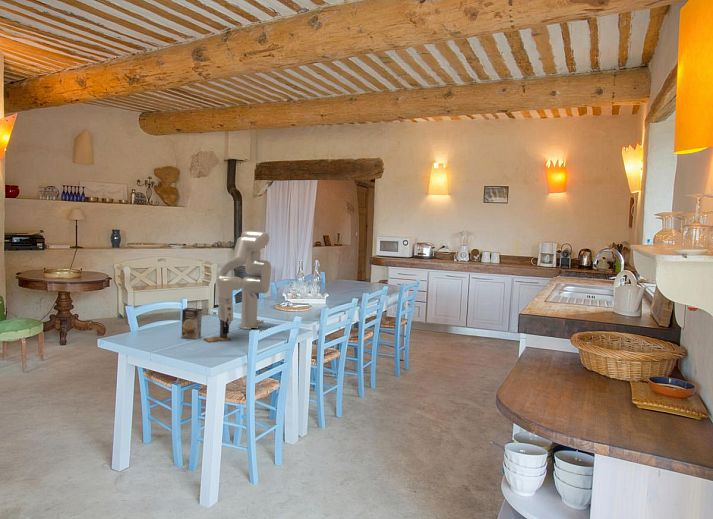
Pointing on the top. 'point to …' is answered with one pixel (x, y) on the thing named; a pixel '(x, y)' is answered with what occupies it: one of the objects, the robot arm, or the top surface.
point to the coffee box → (191, 323)
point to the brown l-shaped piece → (220, 338)
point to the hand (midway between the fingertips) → (224, 332)
